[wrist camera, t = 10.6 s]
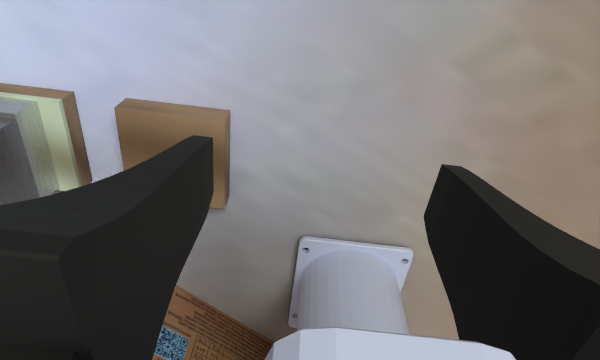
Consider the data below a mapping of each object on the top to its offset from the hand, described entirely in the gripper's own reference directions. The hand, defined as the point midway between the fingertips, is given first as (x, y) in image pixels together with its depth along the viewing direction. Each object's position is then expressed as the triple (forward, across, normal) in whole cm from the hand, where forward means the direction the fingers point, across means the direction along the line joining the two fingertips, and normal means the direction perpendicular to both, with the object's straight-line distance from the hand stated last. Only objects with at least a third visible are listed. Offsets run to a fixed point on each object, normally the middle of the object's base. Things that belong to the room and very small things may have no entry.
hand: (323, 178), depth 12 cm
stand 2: (+10, +8, +6) cm, 14 cm away
